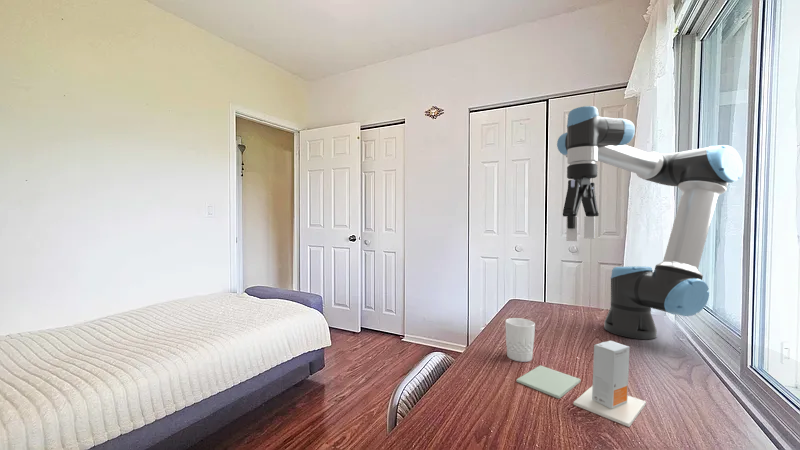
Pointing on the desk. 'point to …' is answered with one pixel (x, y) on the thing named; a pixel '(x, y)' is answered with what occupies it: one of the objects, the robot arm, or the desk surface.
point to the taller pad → (618, 414)
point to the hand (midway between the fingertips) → (581, 239)
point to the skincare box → (610, 374)
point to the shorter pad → (549, 381)
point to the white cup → (520, 339)
